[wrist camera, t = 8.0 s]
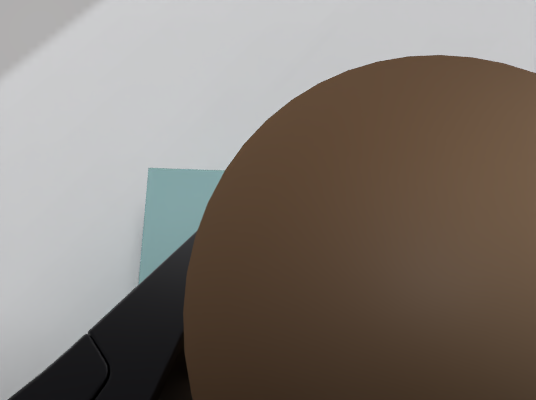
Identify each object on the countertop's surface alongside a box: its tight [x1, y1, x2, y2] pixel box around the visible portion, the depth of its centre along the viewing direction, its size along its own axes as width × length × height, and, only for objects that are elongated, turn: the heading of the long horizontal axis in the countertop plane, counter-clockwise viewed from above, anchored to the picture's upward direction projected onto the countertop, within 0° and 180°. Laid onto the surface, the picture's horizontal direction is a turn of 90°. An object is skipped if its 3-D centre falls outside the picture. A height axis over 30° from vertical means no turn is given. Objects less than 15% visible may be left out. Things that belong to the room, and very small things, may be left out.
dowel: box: [183, 55, 536, 400], centre depth 9 cm, size 4×4×12 cm
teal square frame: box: [138, 168, 224, 285], centre depth 14 cm, size 8×8×4 cm
